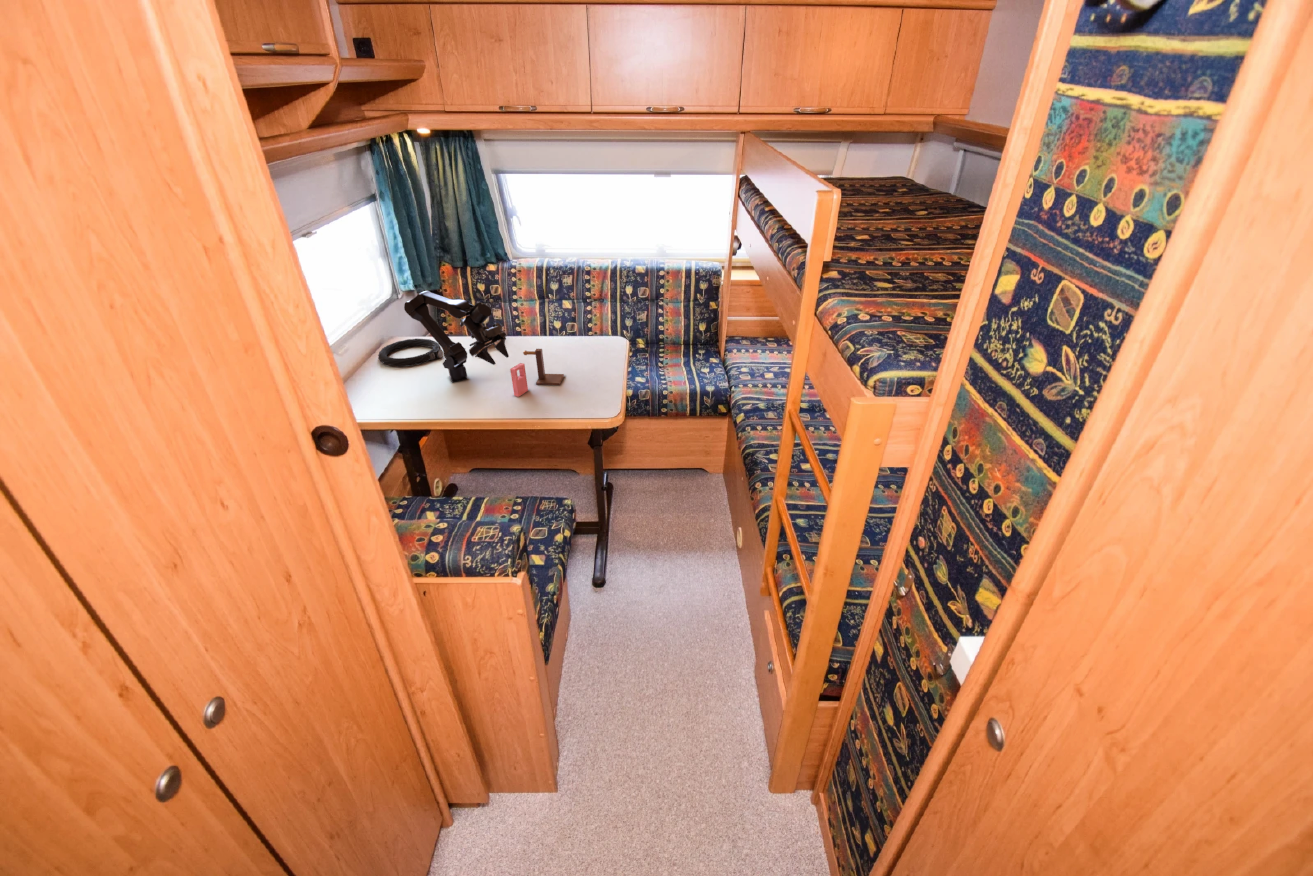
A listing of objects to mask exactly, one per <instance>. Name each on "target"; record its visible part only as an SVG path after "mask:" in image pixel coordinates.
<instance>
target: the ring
mask: <svg viewBox="0 0 1313 876" xmlns="http://www.w3.org/2000/svg"><path fill="white" fill-rule="evenodd" d="M410 347H411V348H413V347H426V348H431V349H430V350H429V351H427V352H425V353H422V354H419V355H416V356H410V357H399V358H395V357H389V356H388V355H390V354H391V353H393V352H395V351H398V350H400V349H401V350H402V349H405V348H410ZM377 356H378V360H379V361H380V363H383V364H384V365H388V366H391V367H395V366H396V367H407V366H408V367H409V366H415V365H418V364H419V365H420V364H423V363H425V362H429V361H433V360H434V359H436V360H439V359H442V358H443V357H444V352H443V349H442V347H441V346H440V345H439V344H438V342H437V341H436V340H433V339H430V338H429V339H428V338H408V339H405V340H398V341H396V342H393V343H390V344H387V345H385V346H384V347H382V348H381V350H380V351H378V354H377Z"/></svg>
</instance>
